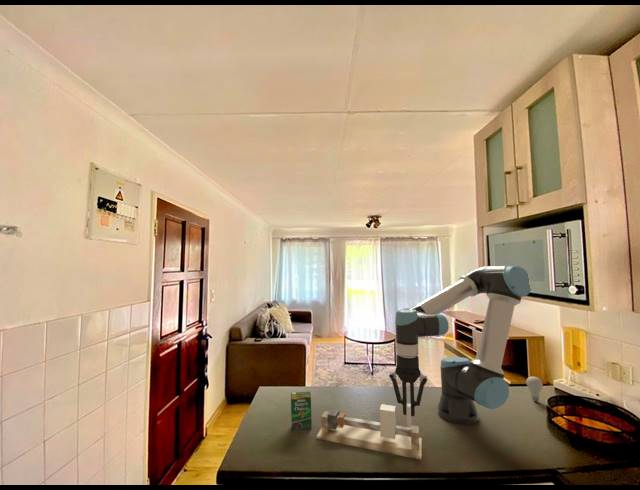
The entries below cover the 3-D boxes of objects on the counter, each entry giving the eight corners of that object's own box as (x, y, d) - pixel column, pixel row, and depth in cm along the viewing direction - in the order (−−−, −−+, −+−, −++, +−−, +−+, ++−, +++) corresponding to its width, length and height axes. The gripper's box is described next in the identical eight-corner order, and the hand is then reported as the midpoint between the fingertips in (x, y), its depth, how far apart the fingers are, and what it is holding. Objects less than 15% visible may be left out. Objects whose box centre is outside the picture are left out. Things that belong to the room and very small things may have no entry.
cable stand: (421, 440, 104) (421, 418, 104) (421, 459, 93) (420, 435, 94) (326, 423, 116) (325, 403, 116) (316, 438, 105) (316, 417, 106)
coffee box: (290, 430, 110) (290, 394, 111) (290, 426, 113) (290, 391, 114) (311, 429, 111) (311, 394, 112) (311, 425, 114) (311, 391, 115)
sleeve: (396, 432, 103) (395, 406, 104) (395, 439, 100) (394, 411, 100) (381, 430, 105) (381, 404, 106) (380, 436, 101) (379, 409, 102)
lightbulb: (547, 404, 130) (545, 379, 131) (533, 404, 130) (532, 379, 131) (537, 398, 136) (535, 374, 137) (524, 398, 136) (522, 374, 137)
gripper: (426, 353, 103) (429, 422, 102) (389, 350, 108) (391, 416, 106) (427, 359, 96) (429, 434, 95) (387, 356, 101) (388, 427, 99)
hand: (409, 424), depth 100 cm, fingers closed
